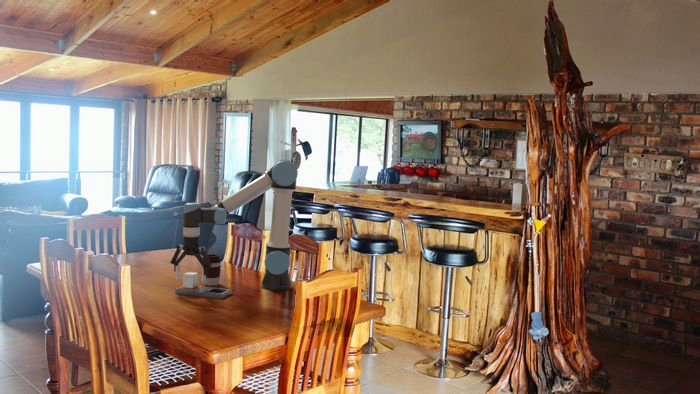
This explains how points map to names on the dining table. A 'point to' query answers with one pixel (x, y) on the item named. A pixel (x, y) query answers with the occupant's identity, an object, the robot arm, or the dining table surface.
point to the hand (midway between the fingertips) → (190, 280)
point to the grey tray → (205, 292)
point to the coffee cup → (213, 270)
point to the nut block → (190, 280)
